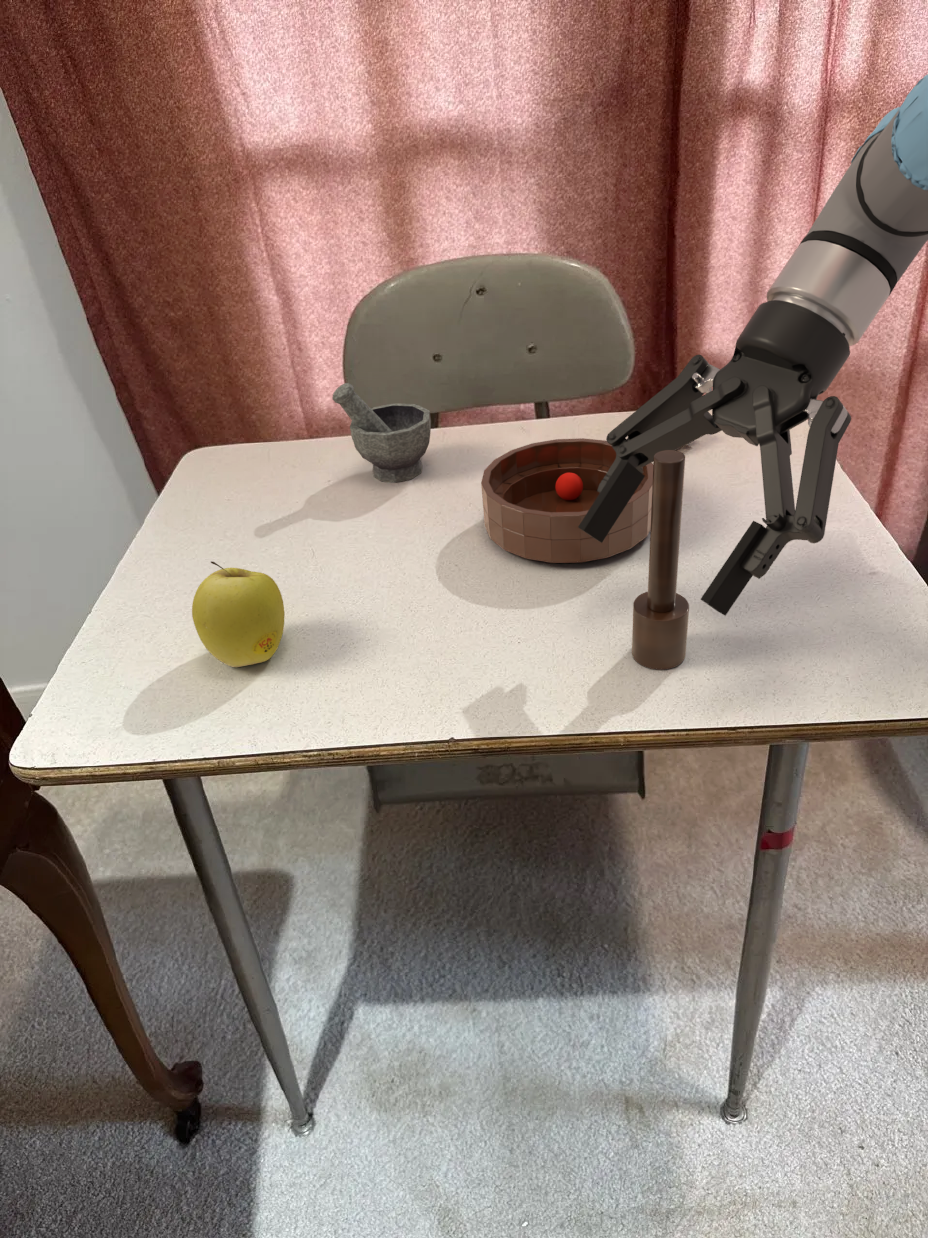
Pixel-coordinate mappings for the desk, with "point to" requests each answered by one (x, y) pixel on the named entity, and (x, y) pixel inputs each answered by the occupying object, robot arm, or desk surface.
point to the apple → (239, 616)
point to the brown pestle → (663, 573)
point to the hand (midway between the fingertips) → (646, 569)
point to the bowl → (558, 502)
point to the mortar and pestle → (387, 434)
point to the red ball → (569, 486)
